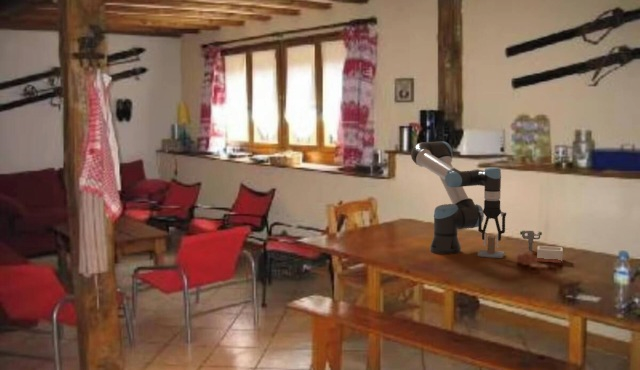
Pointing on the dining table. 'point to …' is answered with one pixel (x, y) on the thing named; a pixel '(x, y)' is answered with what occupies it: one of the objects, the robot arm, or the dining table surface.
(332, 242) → the dining table surface
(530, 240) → the mechanical component
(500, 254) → the lid
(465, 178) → the robot arm
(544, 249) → the box
